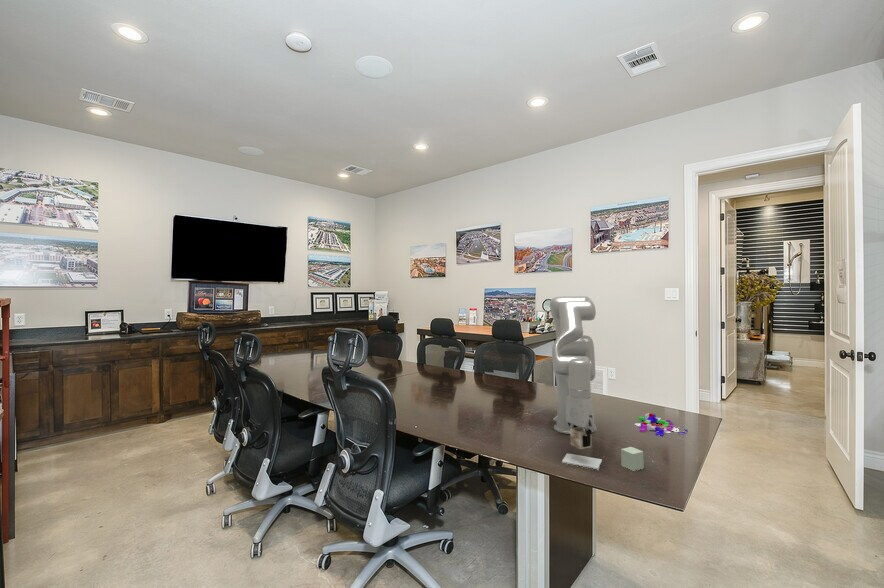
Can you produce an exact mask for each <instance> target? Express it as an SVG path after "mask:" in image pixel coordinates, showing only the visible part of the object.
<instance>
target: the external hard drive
mask: <svg viewBox="0 0 884 588" xmlns="http://www.w3.org/2000/svg"><path fill="white" fill-rule="evenodd" d="M561 463H562V464H563V463H567V464H566V465H568V464H573V465H579V466H583V467H589V468H593V469H597V470H596V471H599V470H600V467H601V466H600V465H602V464H601V463H603V459H602V458H595V457H591V456H585V455H580V454H573V453H566V454H565V456H564V457H563V458H562V461H561ZM573 465H572V466H573ZM583 467H582V468H583ZM593 469H592V470H593Z"/></svg>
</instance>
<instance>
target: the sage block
mask: <svg viewBox="0 0 884 588" xmlns="http://www.w3.org/2000/svg"><path fill="white" fill-rule="evenodd" d="M620 461H621V462H620V463H621V464H620V465H621V467H623V468H625V467H626V468H625V469H627V468H628V469H627V470H629V469H630V470H629V471H631V470H632V472H633V471H634V472H637V471H640V469H641V470H644V469H645V468H644V467H645V465H644V451H643V450H641V449H638V448H636V447H633V446H628V447H625V448H624V447H623V448H621V449H620ZM636 470H637V471H636Z"/></svg>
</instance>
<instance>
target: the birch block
mask: <svg viewBox="0 0 884 588" xmlns="http://www.w3.org/2000/svg"><path fill="white" fill-rule="evenodd" d="M587 430H588V429H587V428H586V431H587ZM569 435H570V436H569V437H570V445H571V446H572V447H575V448H577V449H578V450H584V449H589V448H592V445H591V446H588V447H583V435H584V434H583V429H582V428H581V427H575V428H570V434H569ZM590 437H591V438H592V435H590Z"/></svg>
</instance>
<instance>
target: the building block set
mask: <svg viewBox="0 0 884 588" xmlns="http://www.w3.org/2000/svg"><path fill="white" fill-rule="evenodd" d="M656 416H657V414H655V413H650V412H649V413H645V415H644V416H638V418H637V419H638V420H640V421H639V422H640V423H639V422H638V423H636V422H635V423H634V426H635V425H636V426H635V427H637V426H638V427H637V428H639V433H642V432H645V433H646V432H647V431H649V430H651V431H654V432H655V431H659V432H656V433H655V436H657V435H660V436H659V437H662V436H664V435H665V433H671V434H672V432H670V431H674V432H678V433H685V432H684V431H683V432H680V431H679V429H678V428H679V427H678V428H675V427H676V426H674V425H673V423H672V422H673V421H671V420H670V419H669V420H668V419H667V420H664V419H663V420H662V418H661V417H656ZM660 419H661V420H660ZM642 420H643V422H642ZM655 423H658V424H655ZM661 424H664V425H661ZM652 425H656V426H652ZM658 426H662V427H658ZM667 427H671V428H673V429H671V428H667ZM667 430H668V431H667ZM676 430H677V431H676ZM684 430H685V429H684ZM685 431H687V432H688V429H686V430H685ZM664 432H665V433H664ZM678 433H677V434H678ZM663 434H664V435H663Z"/></svg>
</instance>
